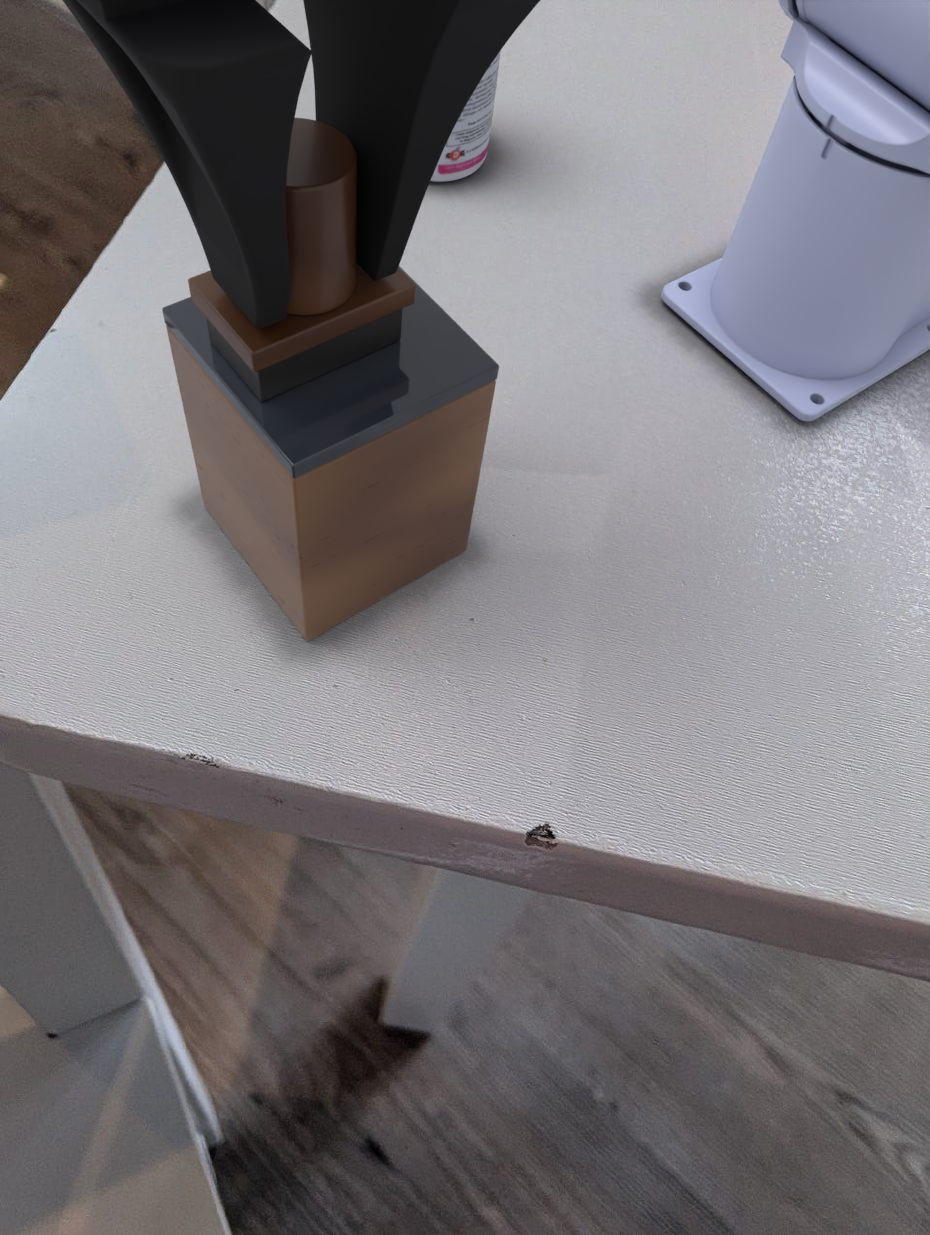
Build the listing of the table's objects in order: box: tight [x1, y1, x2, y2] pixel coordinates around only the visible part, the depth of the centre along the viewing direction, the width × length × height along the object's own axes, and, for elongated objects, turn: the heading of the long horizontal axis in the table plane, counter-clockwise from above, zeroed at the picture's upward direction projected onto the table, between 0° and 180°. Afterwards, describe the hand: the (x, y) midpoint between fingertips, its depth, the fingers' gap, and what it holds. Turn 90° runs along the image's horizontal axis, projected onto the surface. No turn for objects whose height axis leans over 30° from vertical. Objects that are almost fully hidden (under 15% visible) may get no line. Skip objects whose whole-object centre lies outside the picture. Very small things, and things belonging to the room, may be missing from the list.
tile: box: [161, 265, 500, 479], centre depth 24 cm, size 6×6×1 cm
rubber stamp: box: [187, 117, 416, 402], centre depth 21 cm, size 4×3×5 cm, turn 128°
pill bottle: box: [430, 49, 502, 183], centre depth 38 cm, size 5×5×8 cm
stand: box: [165, 324, 497, 642], centre depth 27 cm, size 6×6×8 cm
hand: (308, 273), depth 22 cm, fingers closed on rubber stamp, 2 cm apart
